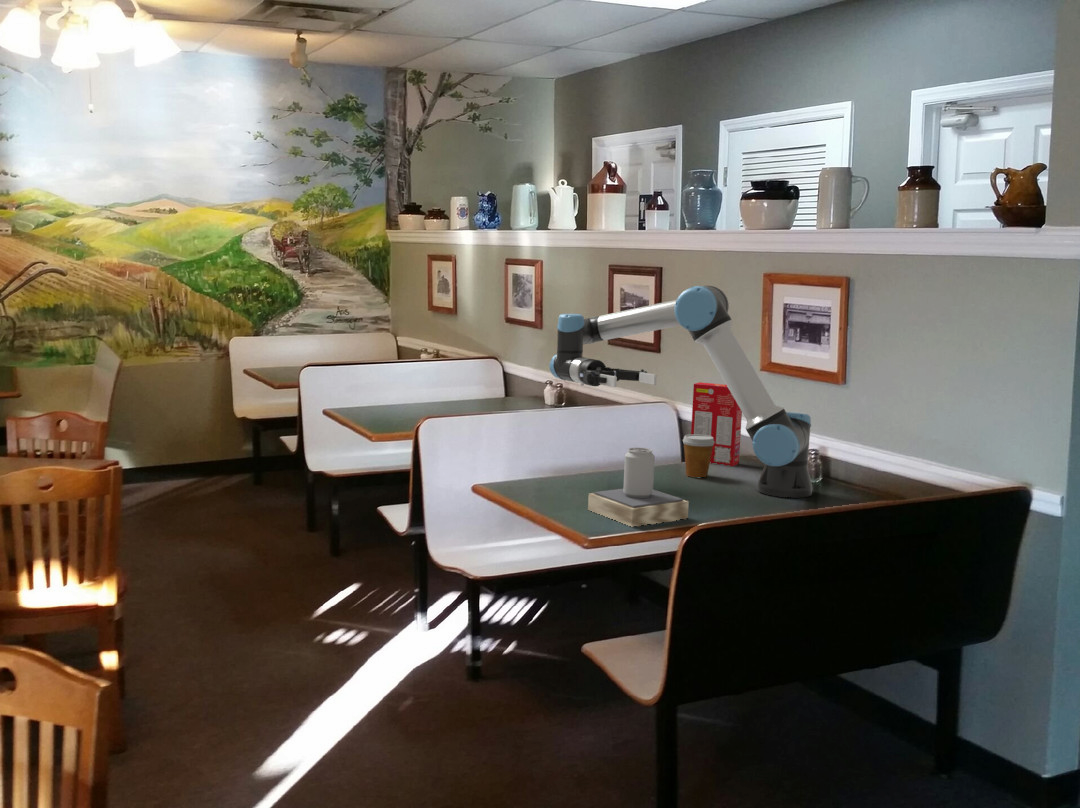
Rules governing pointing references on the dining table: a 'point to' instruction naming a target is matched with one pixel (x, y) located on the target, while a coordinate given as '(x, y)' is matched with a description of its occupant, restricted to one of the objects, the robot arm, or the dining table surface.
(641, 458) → the can
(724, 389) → the food packaging
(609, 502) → the dock
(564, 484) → the dining table surface
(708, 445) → the disposable coffee cup
